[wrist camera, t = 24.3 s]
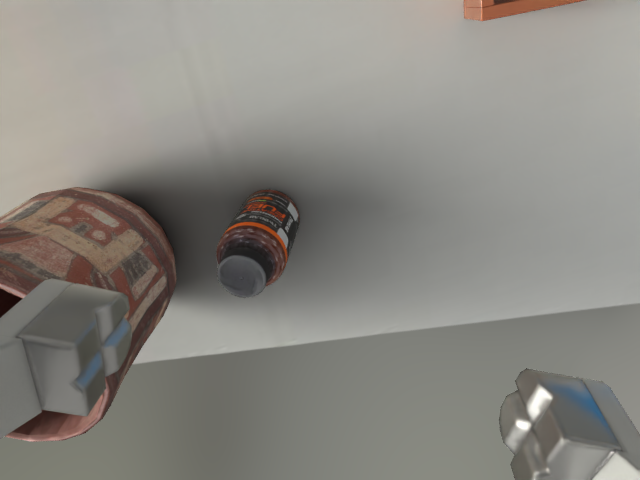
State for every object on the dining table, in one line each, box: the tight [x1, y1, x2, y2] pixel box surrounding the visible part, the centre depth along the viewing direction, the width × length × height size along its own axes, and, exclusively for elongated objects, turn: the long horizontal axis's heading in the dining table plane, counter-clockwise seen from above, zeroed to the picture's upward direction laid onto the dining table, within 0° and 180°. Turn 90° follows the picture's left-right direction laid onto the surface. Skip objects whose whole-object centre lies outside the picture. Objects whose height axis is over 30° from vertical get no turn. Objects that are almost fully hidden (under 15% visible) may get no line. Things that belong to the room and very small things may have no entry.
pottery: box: [0, 187, 177, 441], centre depth 38 cm, size 18×18×18 cm
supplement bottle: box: [216, 189, 300, 298], centre depth 37 cm, size 6×6×11 cm
